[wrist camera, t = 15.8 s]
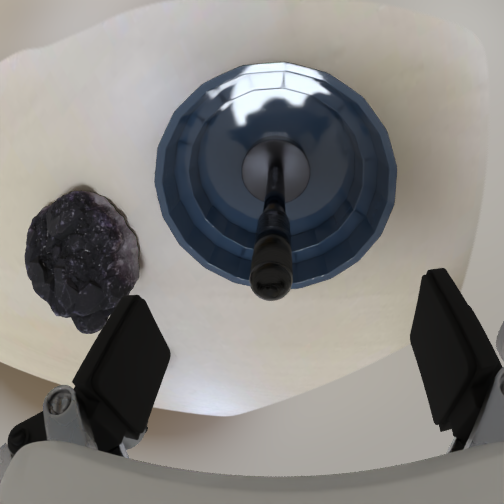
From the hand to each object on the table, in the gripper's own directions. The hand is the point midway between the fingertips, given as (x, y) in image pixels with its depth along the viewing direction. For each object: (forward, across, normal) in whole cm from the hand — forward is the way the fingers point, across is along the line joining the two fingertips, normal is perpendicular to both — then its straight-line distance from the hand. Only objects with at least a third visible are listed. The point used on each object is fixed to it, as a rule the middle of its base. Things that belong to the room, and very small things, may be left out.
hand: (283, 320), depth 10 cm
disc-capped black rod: (+17, +1, 0) cm, 17 cm away
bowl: (+17, +1, 0) cm, 17 cm away
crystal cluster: (+17, +22, +4) cm, 28 cm away
